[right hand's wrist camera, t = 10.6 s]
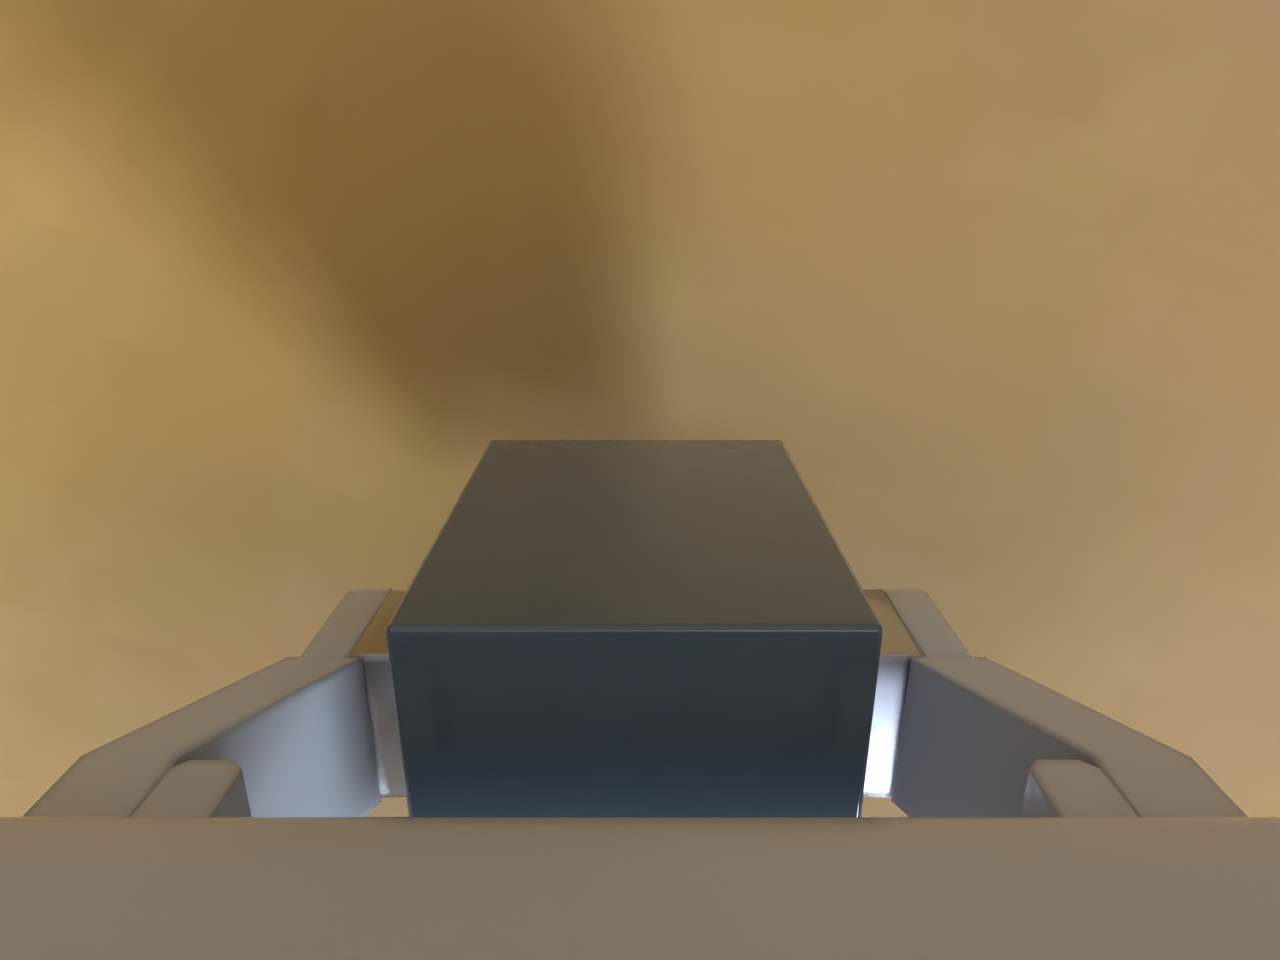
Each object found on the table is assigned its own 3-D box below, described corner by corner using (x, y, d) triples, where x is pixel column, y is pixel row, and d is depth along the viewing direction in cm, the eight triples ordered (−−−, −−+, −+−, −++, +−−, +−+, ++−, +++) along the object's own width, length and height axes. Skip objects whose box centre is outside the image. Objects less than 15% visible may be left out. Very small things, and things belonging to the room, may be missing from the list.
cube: (489, 438, 11) (382, 626, 6) (782, 438, 11) (886, 626, 6) (506, 693, 12) (429, 996, 8) (766, 692, 12) (842, 995, 8)
